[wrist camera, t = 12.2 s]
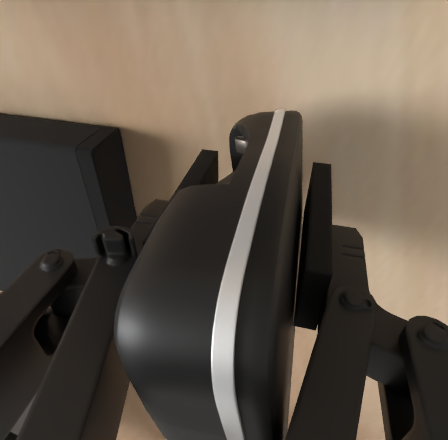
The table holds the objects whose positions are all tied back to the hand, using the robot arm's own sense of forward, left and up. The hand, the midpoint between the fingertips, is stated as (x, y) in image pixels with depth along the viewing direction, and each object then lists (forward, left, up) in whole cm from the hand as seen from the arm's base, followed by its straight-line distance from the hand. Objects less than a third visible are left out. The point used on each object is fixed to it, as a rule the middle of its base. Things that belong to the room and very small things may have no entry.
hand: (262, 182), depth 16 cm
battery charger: (0, 0, -1) cm, 1 cm away
